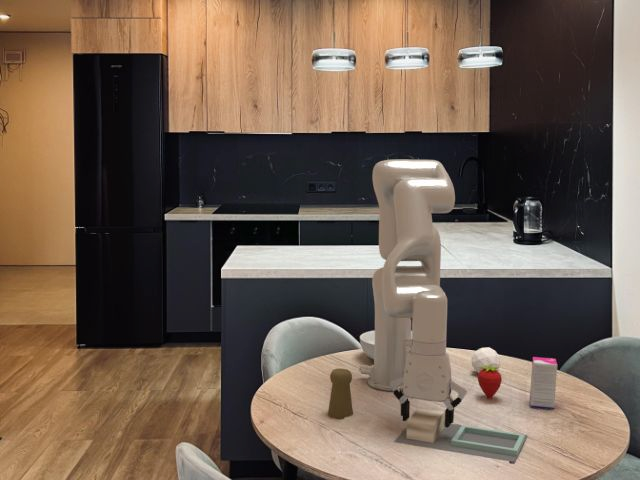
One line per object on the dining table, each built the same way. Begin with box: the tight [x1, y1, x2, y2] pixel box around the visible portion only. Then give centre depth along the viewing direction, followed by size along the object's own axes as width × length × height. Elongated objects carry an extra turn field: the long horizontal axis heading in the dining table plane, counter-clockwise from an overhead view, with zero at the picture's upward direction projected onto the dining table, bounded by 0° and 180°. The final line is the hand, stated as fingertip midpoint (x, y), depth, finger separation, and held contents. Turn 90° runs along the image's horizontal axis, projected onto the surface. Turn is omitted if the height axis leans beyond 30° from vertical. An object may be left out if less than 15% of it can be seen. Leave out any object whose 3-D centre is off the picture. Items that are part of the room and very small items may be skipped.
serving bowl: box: [359, 330, 412, 360], centre depth 247 cm, size 21×21×7 cm
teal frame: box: [451, 424, 526, 456], centre depth 185 cm, size 14×10×1 cm
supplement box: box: [529, 356, 558, 410], centre depth 210 cm, size 6×6×12 cm
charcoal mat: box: [393, 423, 528, 464], centre depth 187 cm, size 26×16×1 cm, turn 68°
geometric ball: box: [471, 347, 501, 374], centre depth 234 cm, size 8×8×8 cm
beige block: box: [406, 406, 446, 443], centre depth 190 cm, size 10×6×4 cm, turn 157°
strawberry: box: [477, 363, 503, 400], centre depth 214 cm, size 6×8×10 cm
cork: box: [327, 368, 354, 420], centre depth 201 cm, size 6×6×11 cm
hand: (426, 422), depth 189 cm, fingers open, 9 cm apart
